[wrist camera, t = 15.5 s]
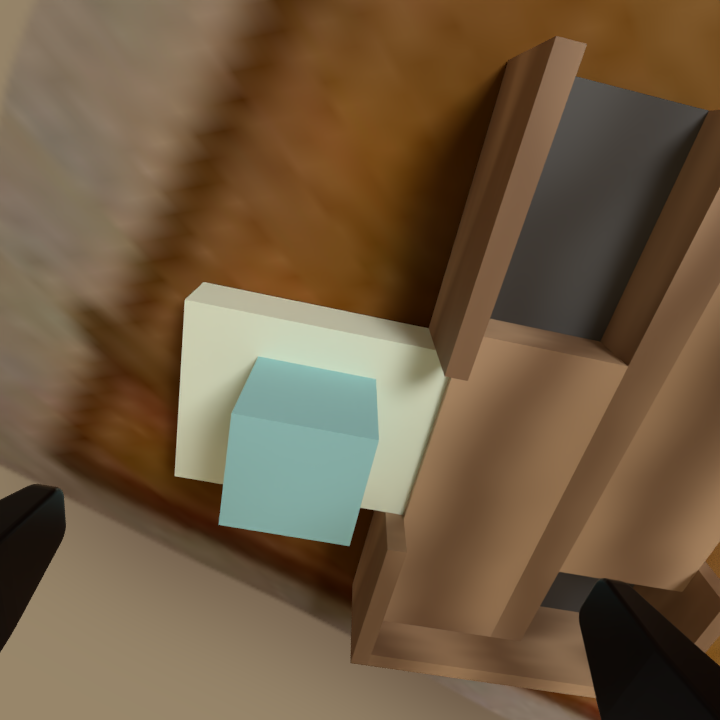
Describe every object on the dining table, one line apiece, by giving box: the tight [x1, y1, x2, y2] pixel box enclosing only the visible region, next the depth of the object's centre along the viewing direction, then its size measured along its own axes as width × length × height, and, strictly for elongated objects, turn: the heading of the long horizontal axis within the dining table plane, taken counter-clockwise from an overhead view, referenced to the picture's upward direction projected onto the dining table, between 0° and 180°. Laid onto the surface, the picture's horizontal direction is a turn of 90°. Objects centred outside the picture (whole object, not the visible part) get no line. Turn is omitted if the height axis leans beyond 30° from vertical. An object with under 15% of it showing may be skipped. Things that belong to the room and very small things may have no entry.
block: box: [219, 356, 379, 546], centre depth 17 cm, size 4×4×4 cm
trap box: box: [351, 36, 720, 698], centre depth 20 cm, size 16×25×4 cm, turn 168°
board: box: [175, 282, 449, 515], centre depth 20 cm, size 10×8×2 cm
